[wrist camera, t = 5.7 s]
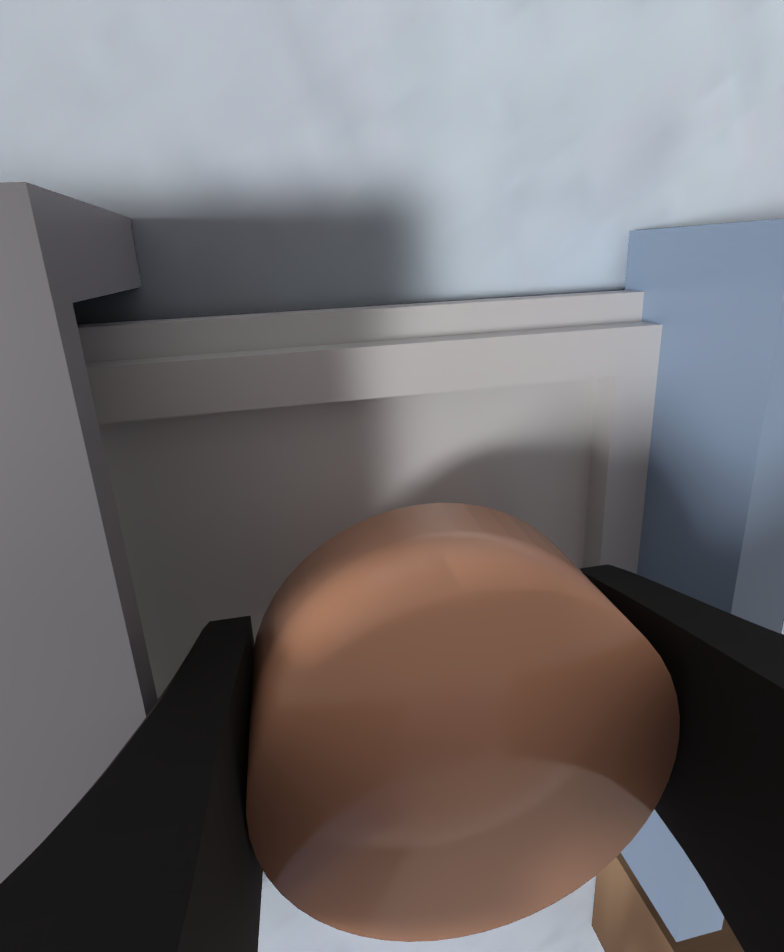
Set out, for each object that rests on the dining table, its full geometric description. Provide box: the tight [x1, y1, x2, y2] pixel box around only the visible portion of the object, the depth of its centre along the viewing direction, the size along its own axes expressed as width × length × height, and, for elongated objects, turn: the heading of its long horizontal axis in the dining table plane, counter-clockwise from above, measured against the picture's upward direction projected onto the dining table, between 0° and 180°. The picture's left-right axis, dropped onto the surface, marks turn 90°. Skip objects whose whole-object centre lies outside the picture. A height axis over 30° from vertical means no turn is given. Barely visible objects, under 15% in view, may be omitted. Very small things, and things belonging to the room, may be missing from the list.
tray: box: [77, 219, 784, 942], centre depth 11 cm, size 13×11×4 cm
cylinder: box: [246, 503, 680, 942], centre depth 9 cm, size 5×5×2 cm
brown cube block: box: [592, 853, 744, 952], centre depth 15 cm, size 4×4×4 cm
